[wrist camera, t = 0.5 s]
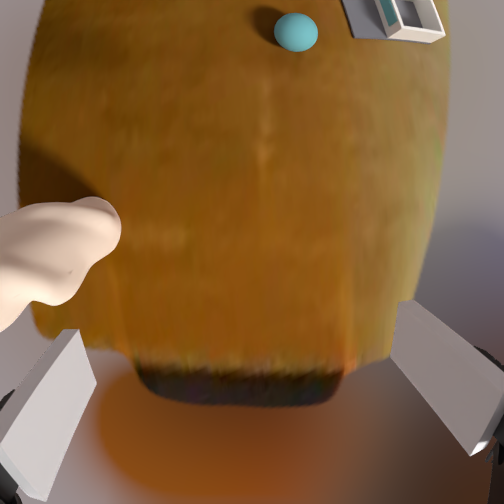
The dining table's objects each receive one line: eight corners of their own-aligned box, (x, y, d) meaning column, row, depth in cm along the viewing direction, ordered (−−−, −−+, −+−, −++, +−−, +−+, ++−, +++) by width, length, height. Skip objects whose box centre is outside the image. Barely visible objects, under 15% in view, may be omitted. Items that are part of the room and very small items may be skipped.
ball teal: (267, 25, 31) (273, 7, 26) (306, 22, 31) (317, 5, 26) (275, 59, 32) (283, 44, 28) (315, 55, 33) (328, 41, 28)
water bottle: (74, 277, 37) (-64, 412, 10) (45, 216, 34) (-128, 290, 7) (137, 246, 36) (4, 396, 10) (107, 179, 34) (-85, 216, 7)
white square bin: (368, -7, 30) (381, -21, 26) (412, -1, 30) (427, -11, 26) (384, 39, 32) (400, 28, 28) (428, 43, 33) (445, 35, 28)
